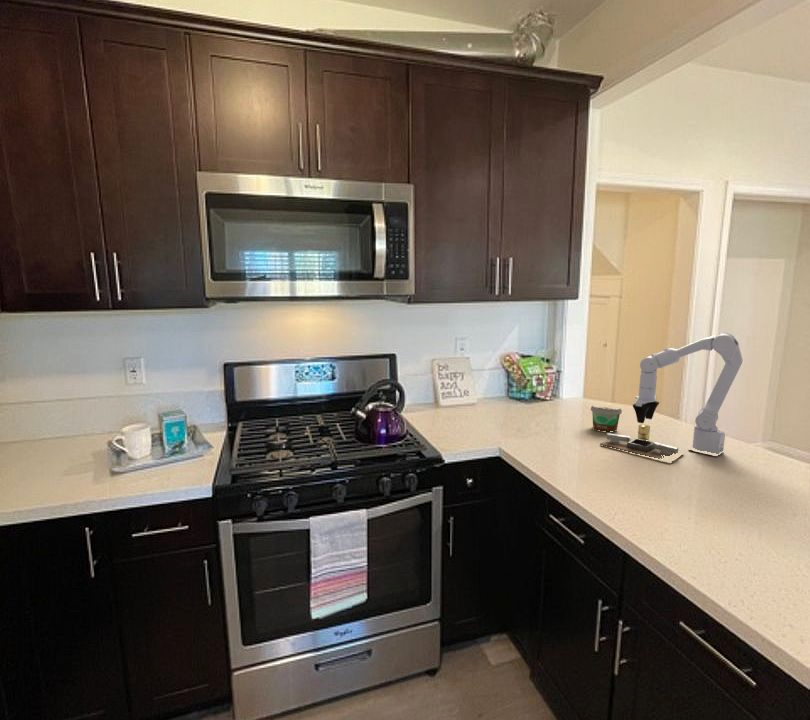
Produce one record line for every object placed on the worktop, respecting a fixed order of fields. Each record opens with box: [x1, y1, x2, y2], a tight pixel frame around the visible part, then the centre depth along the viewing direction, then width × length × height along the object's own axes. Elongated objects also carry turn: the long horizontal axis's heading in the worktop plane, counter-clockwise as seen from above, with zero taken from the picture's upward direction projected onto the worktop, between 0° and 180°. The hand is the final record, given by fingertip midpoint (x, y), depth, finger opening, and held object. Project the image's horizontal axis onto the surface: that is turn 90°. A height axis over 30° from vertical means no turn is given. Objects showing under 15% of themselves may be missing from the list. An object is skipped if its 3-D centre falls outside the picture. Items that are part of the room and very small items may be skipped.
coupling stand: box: [599, 432, 679, 459], centre depth 176 cm, size 25×13×4 cm, turn 41°
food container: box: [590, 405, 622, 433], centre depth 198 cm, size 12×6×10 cm, turn 62°
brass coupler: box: [637, 423, 651, 441], centre depth 187 cm, size 4×4×6 cm
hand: (644, 420), depth 186 cm, fingers open, 7 cm apart
